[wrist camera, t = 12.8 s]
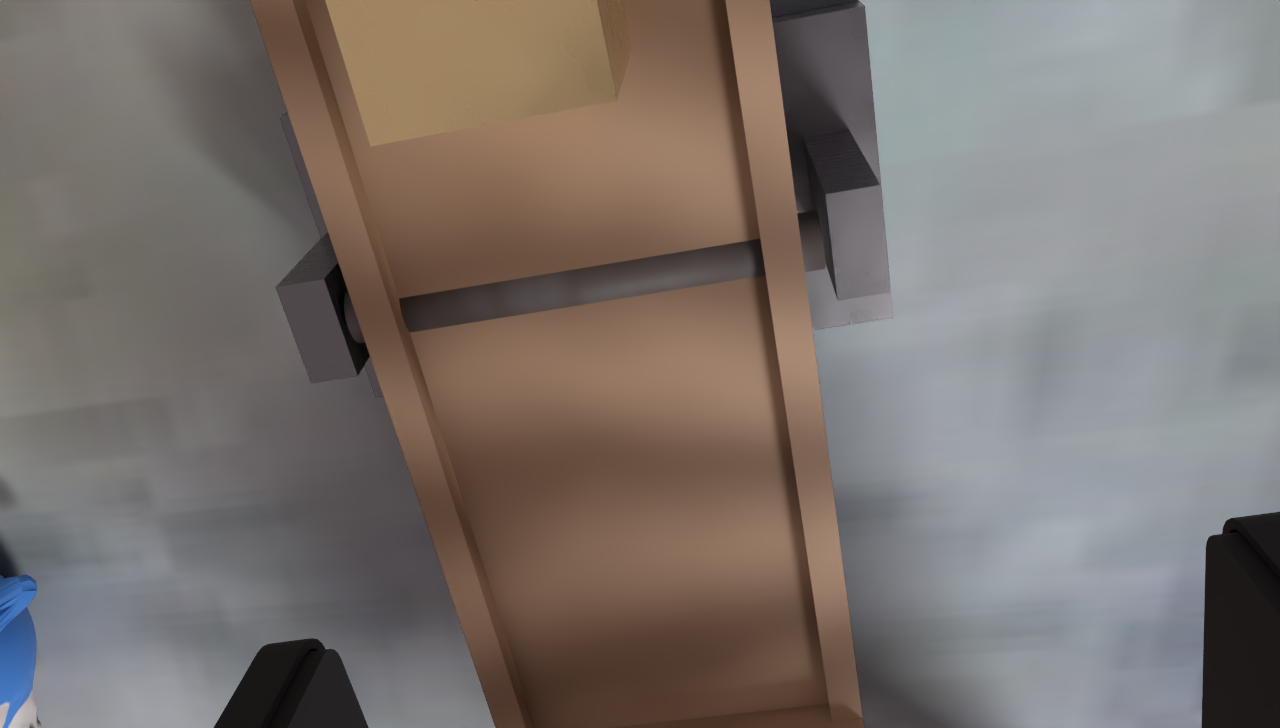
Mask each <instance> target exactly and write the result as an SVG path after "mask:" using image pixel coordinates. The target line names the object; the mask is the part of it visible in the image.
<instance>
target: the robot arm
mask: <svg viewBox="0 0 1280 728" xmlns="http://www.w3.org/2000/svg"><path fill="white" fill-rule="evenodd" d="M214 728H368V725H367V723H366V720H365V718H364V715H363V713H362V710H361V708H360V705H359V703H358V700H357V698H356V695H355V693H354V690H353V688H352V685H351V683H350V680H349V678H348V675H347V673H346V670H345V668H344V665H343V663H342V660H341V658H340V656H339V654H338V653H337V652H336V651H335V650H333V649H327V650H326V649H325V648H324V646H323V644H322V643H321V642H320V641H319V640H318V639H313V638H311V639H303V640H295V641H288V642H280V643H272V644H267V645H265V646H263V647H262V648H261V649H260V651H259V652H258V653H257V655H256V656H255V658H254V660H253V661H252V663H251V665H250V667H249V668H248V670H247V672H246V673H245V675H244V677H243V679H242V680H241V682H240V684H239V685H238V687H237V689H236V691H235V692H234V694H233V696H232V697H231V699H230V701H229V703H228V704H227V706H226V708H225V709H224V711H223V713H222V715H221V716H220V718H219V720H218V721H217V723H216V725H215V726H214ZM1202 728H1280V512H1275V513H1268V514H1260V515H1252V516H1245V517H1237V518H1230V519H1229V520H1227V521H1226V522H1225V525H1224V527H1223V533H1222V534H1220V535H1212V536H1210V537H1209V538H1208V541H1207V545H1206V570H1205V613H1204V655H1203V698H1202Z"/></svg>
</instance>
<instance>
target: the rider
mask: <svg viewBox="0 0 1280 728" xmlns="http://www.w3.org/2000/svg"><path fill="white" fill-rule="evenodd" d="M325 1H326V5H327V8H328V11H329V14H330V18H331V21H332V24H333V27H334V30H335V34H336V37H337V40H338V43H339V47H340V50H341V53H342V56H343V60H344V63H345V66H346V69H347V72H348V76H349V79H350V82H351V85H352V89H353V92H354V95H355V98H356V102H357V105H358V108H359V111H360V115H361V118H362V121H363V124H364V127H365V131H366V134H367V137H368V140H369V144H370V147H371V146H376V145H381V144H387V143H392V142H397V141H403V140H408V139H413V138H419V137H424V136H430V135H435V134H440V133H446V132H451V131H456V130H462V129H467V128H472V127H478V126H483V125H489V124H494V123H499V122H505V121H510V120H515V119H521V118H526V117H532V116H537V115H542V114H548V113H553V112H558V111H564V110H569V109H574V108H580V107H585V106H591V105H596V104H601V103H607V102H612V101H617V98H618V95H619V91H620V88H621V84H622V81H623V77H624V74H625V70H626V67H627V63H628V60H629V56H630V53H631V50H632V44H631V39H630V34H629V28H628V23H627V18H626V13H625V7H624V2H623V0H325Z"/></svg>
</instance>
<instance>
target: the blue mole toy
mask: <svg viewBox="0 0 1280 728" xmlns="http://www.w3.org/2000/svg"><path fill="white" fill-rule="evenodd" d="M36 592H37V585H36V581H35V580H34V579H33V578H32V577H30V576H28V575H21V576H16V577H9V578H6V579H5V578H4V577H3V576H1V575H0V728H42V726H41V723H40V721H39V720H38V717H37V710H36V704H35V700H34V697H33V690H32V688H33V677H34V671H35V664H36V634H35V628H34V624H33V621H32V618H31V615H30V613H29V611H28V609H27V606H28V605H29V604H30V602H31V601H32V600H33V598H34V596H35V594H36Z"/></svg>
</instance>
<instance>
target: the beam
mask: <svg viewBox="0 0 1280 728" xmlns="http://www.w3.org/2000/svg"><path fill="white" fill-rule="evenodd" d="M250 2H251V5H252V8H253V11H254V14H255V17H256V20H257V23H258V26H259V29H260V32H261V35H262V37H263V40H264V43H265V46H266V49H267V52H268V55H269V58H270V61H271V64H272V67H273V70H274V73H275V76H276V79H277V82H278V85H279V88H280V91H281V94H282V97H283V100H284V103H285V106H286V109H287V111H288V114H289V117H290V120H291V123H292V126H293V129H294V132H295V135H296V138H297V141H298V144H299V147H300V150H301V153H302V156H303V159H304V162H305V165H306V168H307V171H308V174H309V177H310V180H311V183H312V186H313V188H314V191H315V194H316V197H317V200H318V203H319V206H320V209H321V212H322V215H323V218H324V221H325V224H326V227H327V230H328V233H329V236H330V239H331V242H332V245H333V248H334V251H335V254H336V257H337V260H338V263H339V265H340V268H341V271H342V274H343V277H344V280H345V283H346V286H347V289H348V290H347V292H346V295H345V299H344V311H345V318H346V323H347V326H348V329H349V331H350V334H351V335H352V337H353V339H354V340H355V341H356V342H357V343H360V344H362V343H366V345H367V348H368V351H369V354H370V357H371V360H372V363H373V366H374V369H375V372H376V375H377V378H378V381H379V384H380V387H381V390H382V393H383V396H384V399H385V402H386V405H387V408H388V411H389V414H390V416H391V419H392V422H393V425H394V428H395V431H396V434H397V437H398V440H399V443H400V446H401V449H402V452H403V455H404V458H405V461H406V464H407V467H408V470H409V473H410V476H411V479H412V482H413V485H414V488H415V491H416V493H417V496H418V499H419V502H420V505H421V508H422V511H423V514H424V517H425V520H426V523H427V526H428V529H429V532H430V535H431V538H432V541H433V544H434V547H435V550H436V553H437V556H438V559H439V562H440V565H441V567H442V570H443V573H444V576H445V579H446V582H447V585H448V588H449V591H450V594H451V597H452V600H453V603H454V606H455V609H456V612H457V615H458V618H459V621H460V624H461V627H462V630H463V633H464V636H465V639H466V642H467V644H468V647H469V650H470V653H471V656H472V659H473V662H474V665H475V668H476V671H477V674H478V677H479V680H480V683H481V686H482V689H483V692H484V695H485V698H486V701H487V704H488V707H489V710H490V713H491V716H492V719H493V721H494V724H495V727H496V728H865V727H864V722H863V716H862V709H861V701H860V693H859V686H858V678H857V670H856V662H855V655H854V647H853V639H852V632H851V624H850V616H849V608H848V601H847V593H846V585H845V578H844V570H843V562H842V555H841V547H840V539H839V531H838V524H837V516H836V508H835V501H834V493H833V485H832V478H831V470H830V462H829V454H828V447H827V439H826V431H825V424H824V416H823V408H822V401H821V393H820V385H819V377H818V370H817V362H816V354H815V347H814V339H813V331H812V323H811V316H810V308H809V300H808V293H807V285H806V277H805V272H810V271H816V270H823V269H825V254H824V245H823V238H822V232H821V226H820V221H819V216H818V212H817V210H814V211H808V212H802V213H797V208H796V200H795V193H794V185H793V177H792V169H791V162H790V154H789V146H788V139H787V131H786V123H785V116H784V108H783V100H782V92H781V85H780V77H779V69H778V62H777V54H776V46H775V38H774V31H773V23H772V15H771V8H770V0H623V2H624V7H625V13H626V18H627V23H628V28H629V34H630V39H631V44H632V50H631V53H630V56H629V60H628V63H627V67H626V70H625V74H624V77H623V81H622V84H621V88H620V91H619V95H618V98H617V101H612V102H607V103H601V104H596V105H591V106H585V107H580V108H574V109H569V110H564V111H558V112H553V113H548V114H542V115H537V116H532V117H526V118H521V119H515V120H510V121H505V122H499V123H494V124H489V125H483V126H478V127H472V128H467V129H462V130H456V131H451V132H446V133H440V134H435V135H430V136H424V137H419V138H413V139H408V140H403V141H397V142H392V143H387V144H381V145H376V146H371V147H370V144H369V140H368V137H367V134H366V131H365V127H364V124H363V121H362V118H361V115H360V111H359V108H358V105H357V102H356V98H355V95H354V92H353V89H352V85H351V82H350V79H349V76H348V72H347V69H346V66H345V63H344V60H343V56H342V53H341V50H340V47H339V43H338V40H337V37H336V34H335V30H334V27H333V24H332V21H331V18H330V14H329V11H328V8H327V5H326V1H325V0H250Z"/></svg>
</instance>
